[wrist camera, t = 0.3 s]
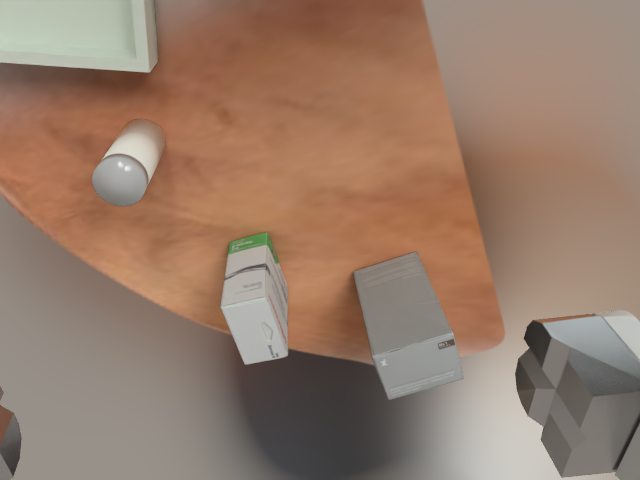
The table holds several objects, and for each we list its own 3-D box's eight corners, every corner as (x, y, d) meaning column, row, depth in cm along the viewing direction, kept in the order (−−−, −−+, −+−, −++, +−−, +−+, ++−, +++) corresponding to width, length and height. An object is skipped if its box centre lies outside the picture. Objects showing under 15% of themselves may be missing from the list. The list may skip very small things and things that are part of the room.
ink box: (227, 240, 62) (216, 306, 52) (269, 230, 62) (266, 294, 52) (250, 297, 67) (244, 368, 57) (289, 288, 67) (290, 358, 57)
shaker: (119, 117, 54) (88, 158, 46) (164, 120, 55) (142, 161, 46) (124, 158, 56) (95, 205, 48) (167, 160, 57) (147, 207, 48)
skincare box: (365, 308, 69) (385, 407, 55) (350, 263, 65) (367, 359, 52) (431, 289, 68) (467, 386, 54) (419, 244, 64) (455, 336, 51)
